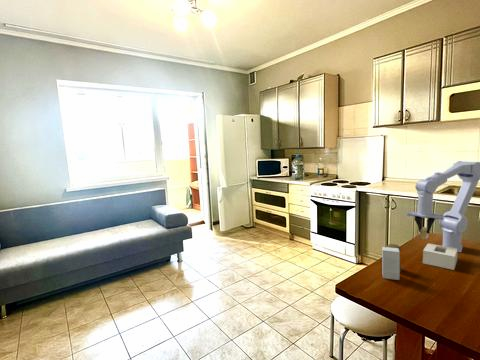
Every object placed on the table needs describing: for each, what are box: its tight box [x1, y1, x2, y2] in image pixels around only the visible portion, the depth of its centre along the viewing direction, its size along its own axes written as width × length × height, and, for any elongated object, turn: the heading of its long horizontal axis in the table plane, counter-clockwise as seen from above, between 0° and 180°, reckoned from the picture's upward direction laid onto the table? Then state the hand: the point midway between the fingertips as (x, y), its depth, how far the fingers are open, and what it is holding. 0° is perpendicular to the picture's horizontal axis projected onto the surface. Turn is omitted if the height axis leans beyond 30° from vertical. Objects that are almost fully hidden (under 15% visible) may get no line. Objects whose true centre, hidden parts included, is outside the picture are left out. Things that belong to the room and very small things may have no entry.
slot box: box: [422, 242, 458, 271], centre depth 119 cm, size 11×11×6 cm
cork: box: [386, 243, 402, 272], centre depth 115 cm, size 6×6×11 cm
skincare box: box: [381, 246, 401, 281], centre depth 109 cm, size 6×4×12 cm
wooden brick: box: [419, 226, 429, 240], centre depth 128 cm, size 4×2×4 cm, turn 135°
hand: (424, 232), depth 128 cm, fingers closed on wooden brick, 2 cm apart
